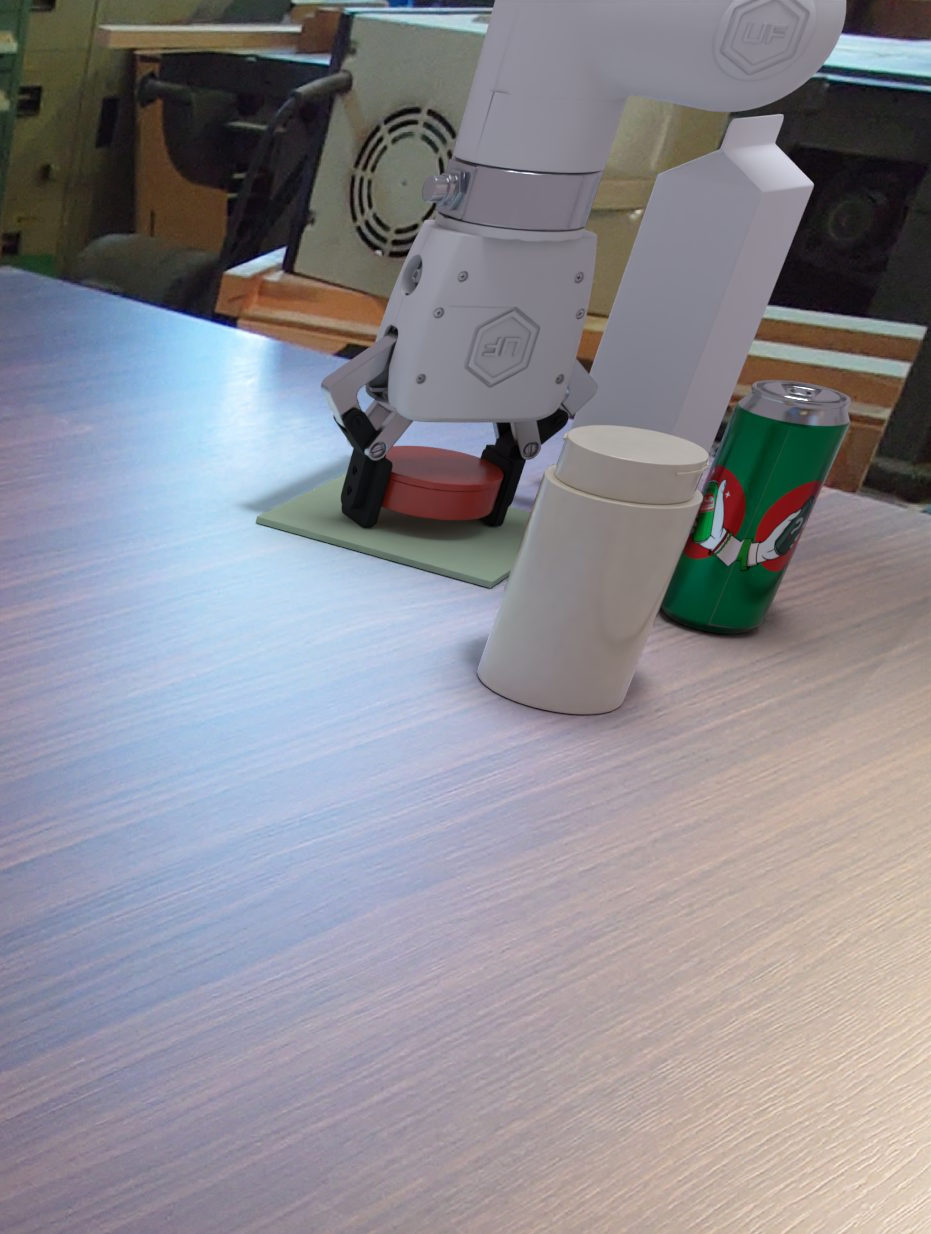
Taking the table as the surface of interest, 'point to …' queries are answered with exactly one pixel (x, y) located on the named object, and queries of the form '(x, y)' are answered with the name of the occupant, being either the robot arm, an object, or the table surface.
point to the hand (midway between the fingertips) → (420, 517)
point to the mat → (407, 535)
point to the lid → (441, 483)
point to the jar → (593, 568)
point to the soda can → (756, 504)
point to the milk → (698, 286)
